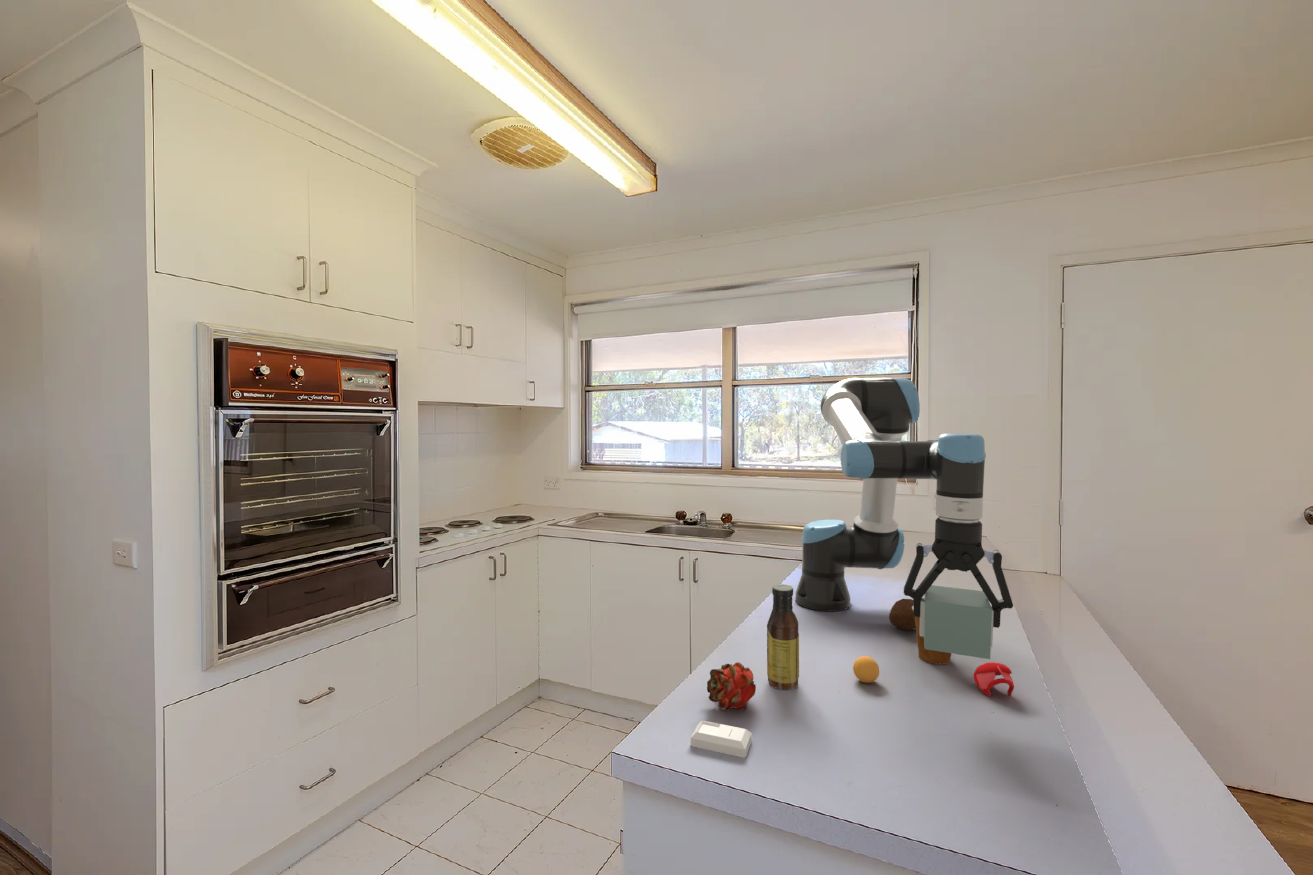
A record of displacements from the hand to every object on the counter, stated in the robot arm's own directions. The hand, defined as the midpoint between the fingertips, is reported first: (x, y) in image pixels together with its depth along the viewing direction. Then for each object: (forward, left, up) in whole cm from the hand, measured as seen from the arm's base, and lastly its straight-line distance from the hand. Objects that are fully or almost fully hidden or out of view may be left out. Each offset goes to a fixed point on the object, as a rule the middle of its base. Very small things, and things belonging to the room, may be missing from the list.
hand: (954, 638), depth 105 cm
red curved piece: (-10, +8, -13) cm, 19 cm away
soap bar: (+29, -35, -14) cm, 47 cm away
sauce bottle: (+4, -30, -13) cm, 33 cm away
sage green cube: (0, 0, -1) cm, 1 cm away
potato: (-37, -8, -13) cm, 41 cm away
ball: (-4, -15, -10) cm, 19 cm away
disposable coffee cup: (-22, -2, -13) cm, 26 cm away
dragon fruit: (+16, -37, -13) cm, 43 cm away
